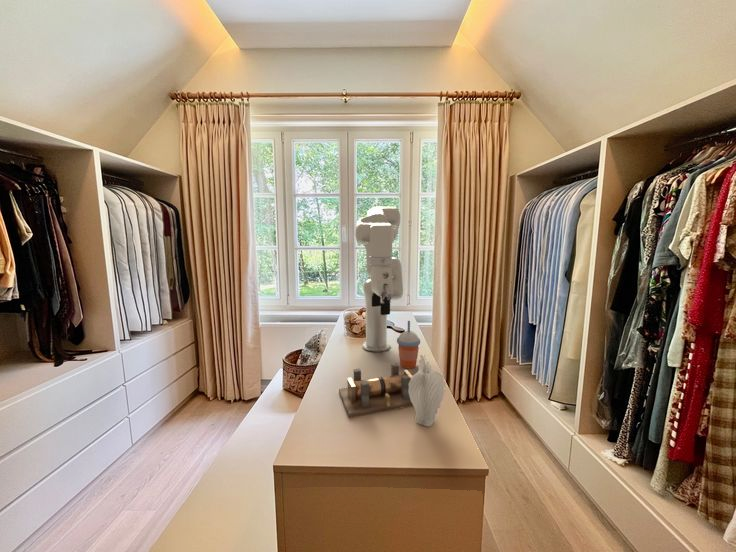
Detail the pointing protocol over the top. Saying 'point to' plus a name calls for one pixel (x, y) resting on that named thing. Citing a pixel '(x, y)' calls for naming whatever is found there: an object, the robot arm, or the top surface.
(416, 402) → the shell sculpture
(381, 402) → the collar board
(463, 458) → the top surface
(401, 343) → the cup with straw
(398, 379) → the copper tube
